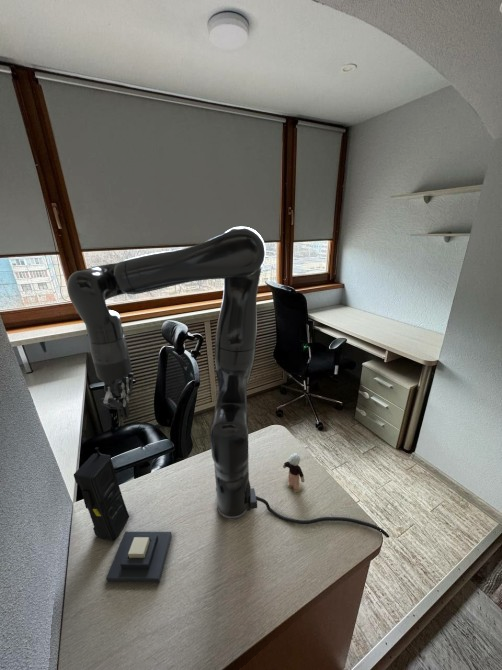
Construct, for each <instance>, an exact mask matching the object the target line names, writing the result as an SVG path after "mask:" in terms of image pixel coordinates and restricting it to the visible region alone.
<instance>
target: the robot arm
mask: <svg viewBox="0 0 502 670" xmlns="http://www.w3.org/2000/svg"><path fill="white" fill-rule="evenodd" d="M266 251H267V249H266V244H265V241H264V239H263V238H262V236H261V235H260V233H258V232H257V231H256V230H255V229H253V228H250V227H247V226H235V227H232V228H230V229H228V230H226V231H225V232H224V233H222V234H220V235H217V236H215V237H213V238H210V239H208V240H206V241H203V242H201V243H198V244H195V245H192V246H189V247H185V248H180V249H175V250H169V251H168V250H167V251H161V252H160V251H159V252H154V253H149V254H144V255H140V256H135V257H131V258H128V259H124V260H121V261H119V262H114V263H107V264H102V265H97V266H93V267H89V268H88V267H87V268H85V269H79V270H76V271H74V272H73V273H71V275H70V276H69V277H68V279H67V284H66V288H67V295H68V297H69V300H70V302H71V303H72V305H73V306H74V308H75V310H76V312H77V314H78V315H79V317H80V319H81V320H82V322H83V323H84V325H85V330H86V333H87V334H86V335H87V339H88V342H89V350H90V354H91V358H92V362H93V366H94V370H95V375H96V377H97V378H98V379H99V380H100V381H101V382H102V383H103V390H104V392H105V395H104V397H103V398H100V400H99V403H100V405H102V406H104V407H106V408H108V409H109V410H117V414H118V418H119V419H128V418H129V416H130V415H131V411H130V406H129V403H130V397H131V396H132V395H133V394H132V392H133V384H134V373H133V372H132V370H133V368H132V363H131V357H130V351H129V346H128V343H127V340H126V338H125V337H126V336H125V333H124V327H123V323H122V319H121V316H120V314H119V312H117V311H115V310H111V309H109V308H108V305H107V303H106V301H107V300H109V299H111V298H114V297H117V296H122V295H127V294H128V295H138V294H144V293H148V292H154V291H157V290H162V289H166V288H170V287H174V286H178V285H182V284H187V283H191V282H198V281H208V280H223V293H222V294H223V295H222V302H221V306H220V310H219V315H218V320H217V323H216V330H215V336H214V368H215V374H216V378H217V385H218V386H217V395H216V400H215V406H214V410H213V414H212V420H211V423H210V424H211V425H210V430H209V441H210V451H211V457H212V461H213V465H214V476H215V492H216V505H217V506H216V507H217V510H218V513H219V514H220V516H221V517H223V518H224V519H226V520H232V521H233V520H239V519H241V518H242V517H244V516H245V515H246V514H247V513H248V512H251V510H253V509H258V502H260V503H262V504H264V505H265V506H266V509H267V511H268V512H269V513H270V514H271V515H273V516H274V517H276V518H278V519H279V520H282V521H285V522H287V523H292V524H298V525H311V524H316V523H320V522H347V523H351V524H357V525H361V526H365V527H368V528H371V529H374V530H376V531H378V532H379V533H381V532H382V533H381V534H382V535H383V536H384V537H385V538H387V539H389V538H390V534H388V532H386V530H384V529H383V528H382V527H380V526H378V525H376V524H373V523H370V522H366V521H363V520H361V519H356V518H350V517H343V516H323V517H317V518H312V519H306V520H303V519H295V518H290V517H287V516H284V515H281V514H279V513H277V512H276V510H273V508H271V506H270V504H269V502H268V501H267V500H266V499H264V498H262V497H260V496H257V494H256V490H255V488H254V487H252V488H251V482H250V470H249V469H250V468H249V463H250V462H249V457H250V456H249V455H250V453H249V415H248V414H249V413H248V395H247V394H248V392H247V391H248V385H249V381H250V379H251V376H252V372H253V369H254V364H255V359H256V351H257V350H256V349H257V339H258V338H257V335H258V334H257V333H258V311H257V309H258V307H257V299H258V298H257V297H258V290H259V284H260V278H261V273H262V268H263V264H265V263H264V262H265V259H266ZM377 526H378V527H377ZM380 530H381V531H380Z"/></svg>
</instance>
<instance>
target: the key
mask: <svg viewBox="0 0 502 670" xmlns="http://www.w3.org/2000/svg"><path fill="white" fill-rule="evenodd" d="M149 543H150V541H149V537H134V540H133V542H132V545H131V547H130V550H129V553H128V555H129V558H145V555H146V552H147V549H148V546H149Z"/></svg>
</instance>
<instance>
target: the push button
mask: <svg viewBox="0 0 502 670" xmlns="http://www.w3.org/2000/svg"><path fill="white" fill-rule="evenodd" d="M134 537H149V541H150V543H149V546H148V549H147V552H146V555H145V558H129V555H128V553H129V550H130V547H131V545H132V542H133V540H134ZM172 537H173V534H172V531H125V532H124V534H123V536H122V538H121V541H120V543H119V545H118V548H117V551H116V553H115V554H114V555H115V556H114V558H113V561H112V563H111V565H110V568H109V570H108V572H107V574H106V578H105V579H106V582H107V583H117V584H118V583H121V584H122V583H124V584H125V583H134V584H137V583H138V584H139V583H141V584H144V583H145V584H146V583H147V584H149V583H150V584H159V583H160V582H161V579H162V575H163V571H164V569H165V564H166V561H167V560H166V559H167V557H168V553H169V548H170V545H171V541H172Z"/></svg>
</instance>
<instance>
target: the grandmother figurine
mask: <svg viewBox="0 0 502 670" xmlns="http://www.w3.org/2000/svg"><path fill="white" fill-rule="evenodd" d="M300 461H301V456H300V455H299V454H298V453H292V454H291V455H290V456H289V457H288V460H287V461H285V462H284V463H283V464H282V468H283V469H286V468H288V476H287V477H288V482H287V485H286V486H287V488H288V489H292V488H293V492H294V493H299V492H301V491H302V490H303V487H302V486H301V485H300V481H301V483H305V476H304V472H303V471H302V468H301V467H300V465H299V464H300V463H301V462H300Z"/></svg>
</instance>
